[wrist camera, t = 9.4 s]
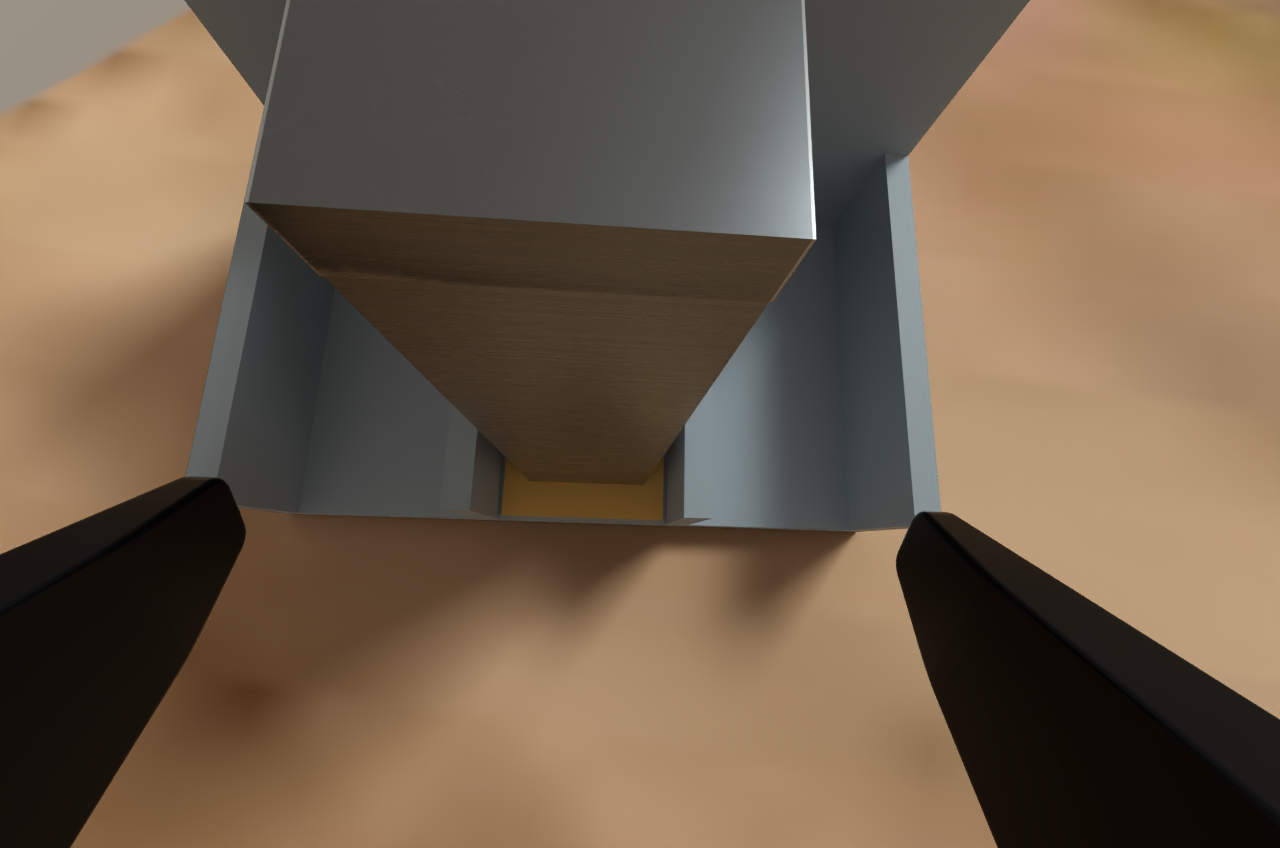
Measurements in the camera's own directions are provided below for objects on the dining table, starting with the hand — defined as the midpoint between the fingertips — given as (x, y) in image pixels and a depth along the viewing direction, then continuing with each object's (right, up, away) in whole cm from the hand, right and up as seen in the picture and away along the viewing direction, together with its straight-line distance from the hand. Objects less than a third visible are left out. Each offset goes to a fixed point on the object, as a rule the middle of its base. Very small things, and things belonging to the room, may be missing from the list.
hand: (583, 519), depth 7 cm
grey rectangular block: (-1, +3, +8) cm, 9 cm away
